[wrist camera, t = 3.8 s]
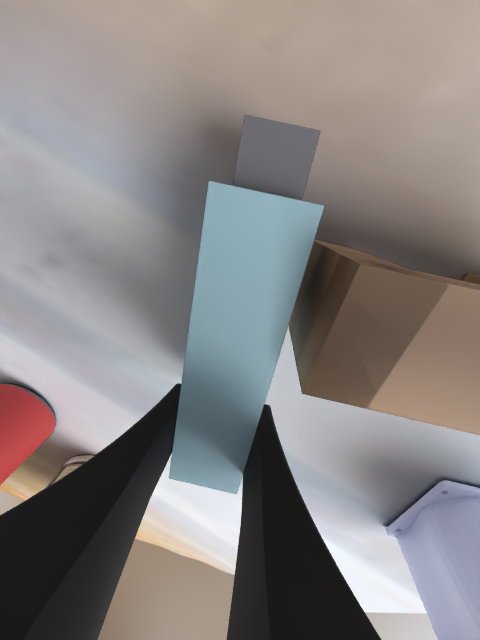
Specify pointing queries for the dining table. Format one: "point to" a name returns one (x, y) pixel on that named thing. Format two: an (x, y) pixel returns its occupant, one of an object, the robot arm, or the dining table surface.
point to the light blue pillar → (243, 300)
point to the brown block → (388, 337)
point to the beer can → (21, 426)
